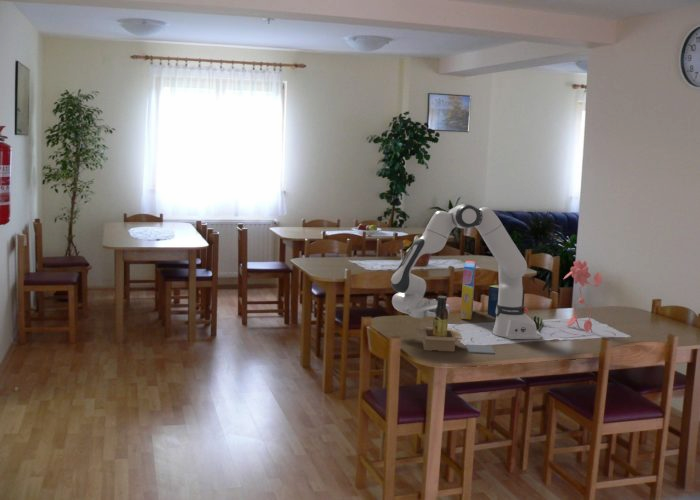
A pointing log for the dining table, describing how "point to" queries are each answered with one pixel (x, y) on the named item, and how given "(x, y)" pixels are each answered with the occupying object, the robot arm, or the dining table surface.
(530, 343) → the dining table surface
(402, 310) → the robot arm
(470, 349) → the mat
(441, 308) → the sauce bottle
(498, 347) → the dining table surface
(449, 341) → the carton
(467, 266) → the game box
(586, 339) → the dining table surface
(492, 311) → the protein box
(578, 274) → the pink blossom sprig
